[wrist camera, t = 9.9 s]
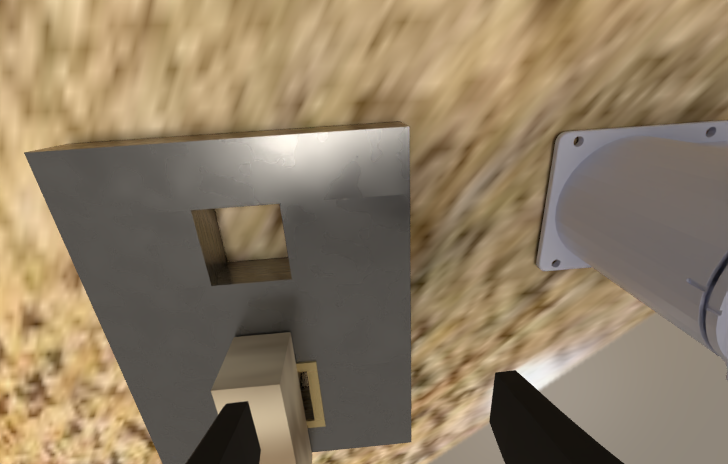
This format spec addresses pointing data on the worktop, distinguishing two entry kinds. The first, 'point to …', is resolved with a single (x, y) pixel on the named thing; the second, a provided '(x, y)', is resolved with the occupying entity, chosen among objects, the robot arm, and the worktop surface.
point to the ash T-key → (267, 395)
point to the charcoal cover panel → (247, 269)
